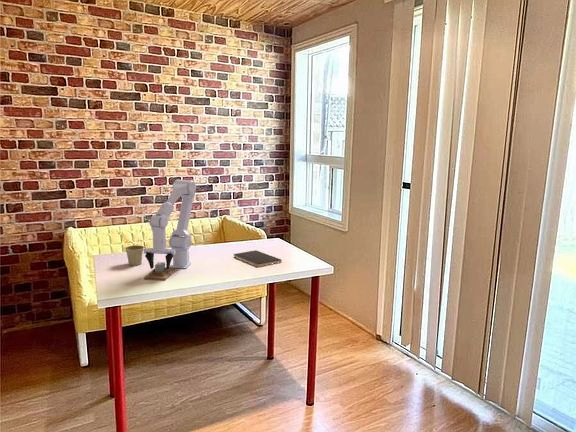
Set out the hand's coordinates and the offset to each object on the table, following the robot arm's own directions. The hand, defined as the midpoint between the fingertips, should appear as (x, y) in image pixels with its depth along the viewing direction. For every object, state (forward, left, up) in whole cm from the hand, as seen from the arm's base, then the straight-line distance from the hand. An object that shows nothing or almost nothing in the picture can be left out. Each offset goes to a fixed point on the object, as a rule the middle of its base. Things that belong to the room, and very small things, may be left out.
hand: (160, 268), depth 195 cm
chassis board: (0, 0, -3) cm, 3 cm away
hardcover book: (-33, +42, -4) cm, 53 cm away
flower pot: (-16, -19, -3) cm, 25 cm away
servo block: (0, 0, -2) cm, 2 cm away
